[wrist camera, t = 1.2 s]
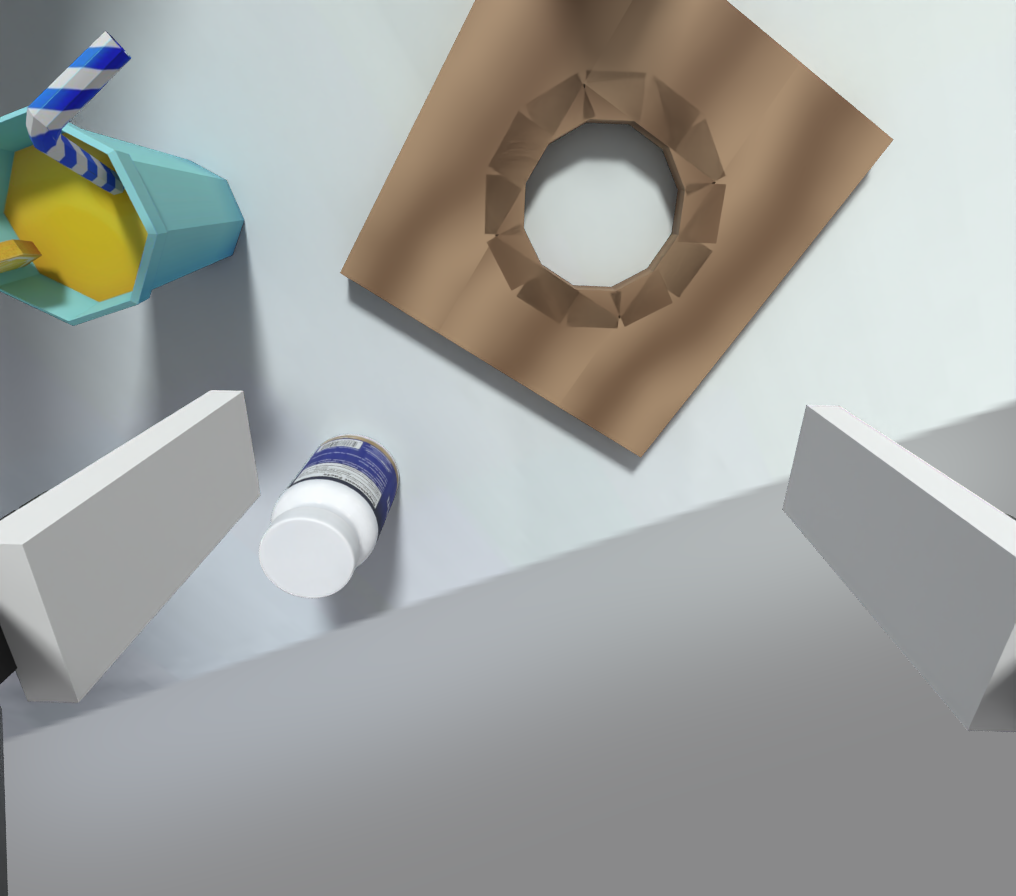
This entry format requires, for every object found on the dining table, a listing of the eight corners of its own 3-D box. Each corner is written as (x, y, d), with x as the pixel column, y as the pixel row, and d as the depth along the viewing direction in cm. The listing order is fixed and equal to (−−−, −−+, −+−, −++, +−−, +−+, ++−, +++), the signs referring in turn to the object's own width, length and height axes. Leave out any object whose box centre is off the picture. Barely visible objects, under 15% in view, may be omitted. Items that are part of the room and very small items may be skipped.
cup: (234, 37, 29) (-33, -110, 15) (348, 173, 31) (210, 156, 17) (68, 231, 32) (-269, 258, 18) (181, 340, 34) (-44, 437, 21)
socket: (347, 269, 33) (340, 273, 31) (547, -130, 26) (548, -148, 24) (636, 447, 37) (640, 457, 35) (876, 142, 30) (893, 139, 28)
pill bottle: (368, 526, 39) (322, 627, 30) (295, 476, 38) (223, 566, 29) (419, 467, 37) (386, 554, 28) (344, 412, 36) (285, 486, 27)
